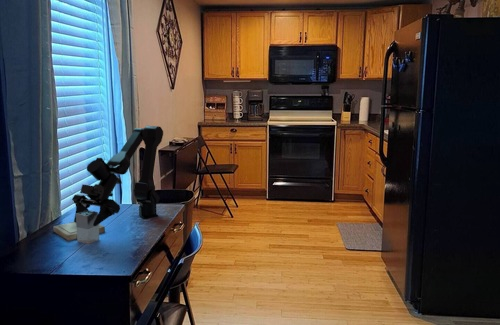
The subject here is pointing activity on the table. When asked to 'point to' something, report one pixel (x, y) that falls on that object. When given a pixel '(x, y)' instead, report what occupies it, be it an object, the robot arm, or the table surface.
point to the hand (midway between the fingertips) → (84, 223)
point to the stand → (71, 230)
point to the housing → (87, 227)
